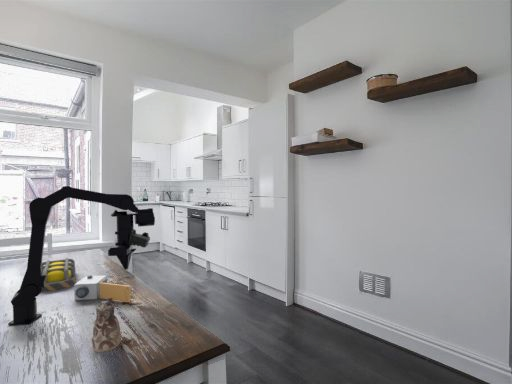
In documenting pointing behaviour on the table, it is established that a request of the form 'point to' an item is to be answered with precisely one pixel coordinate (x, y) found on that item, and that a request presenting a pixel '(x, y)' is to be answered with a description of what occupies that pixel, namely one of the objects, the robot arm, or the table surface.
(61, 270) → the cage light
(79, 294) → the block
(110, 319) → the figurine
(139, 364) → the table surface
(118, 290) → the side door
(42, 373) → the table surface
